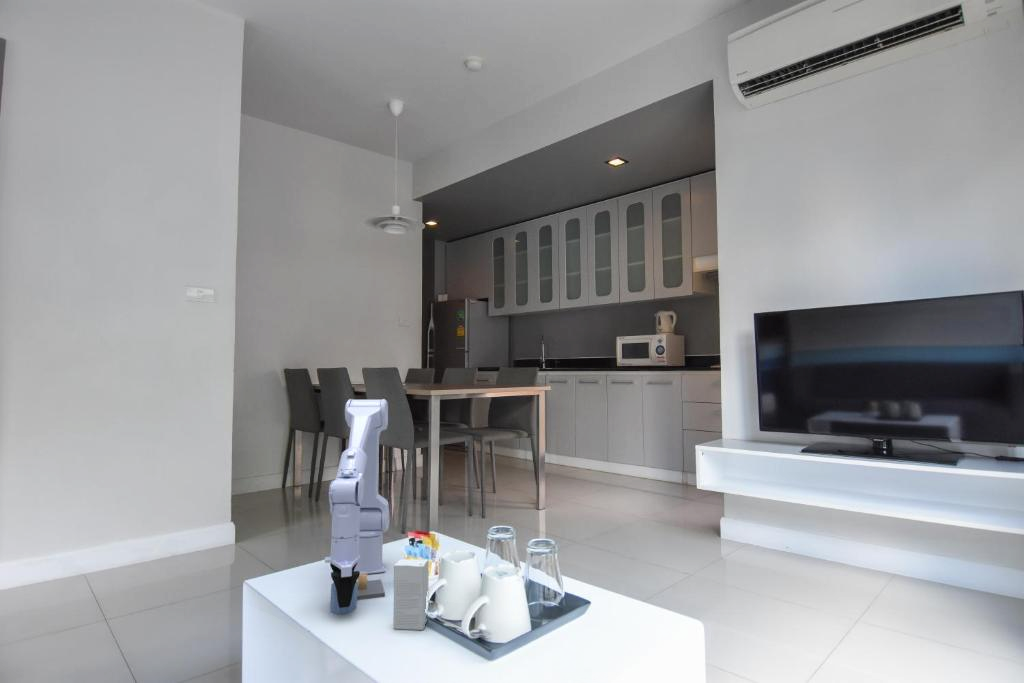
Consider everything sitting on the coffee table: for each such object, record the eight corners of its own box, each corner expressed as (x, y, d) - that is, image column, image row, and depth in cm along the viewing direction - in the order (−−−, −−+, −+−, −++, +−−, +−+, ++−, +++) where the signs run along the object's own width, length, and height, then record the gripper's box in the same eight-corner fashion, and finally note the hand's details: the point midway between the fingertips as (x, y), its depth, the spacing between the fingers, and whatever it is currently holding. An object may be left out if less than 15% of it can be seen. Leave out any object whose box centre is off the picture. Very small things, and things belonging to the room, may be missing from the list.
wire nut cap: (330, 605, 116) (330, 581, 116) (355, 602, 118) (356, 578, 118) (330, 615, 111) (331, 589, 111) (357, 611, 113) (357, 586, 113)
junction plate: (340, 587, 126) (341, 570, 127) (380, 582, 130) (380, 566, 130) (342, 601, 118) (343, 583, 118) (384, 596, 121) (385, 578, 121)
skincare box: (428, 621, 108) (429, 559, 109) (423, 630, 104) (424, 566, 105) (398, 620, 109) (400, 558, 110) (392, 629, 104) (393, 565, 105)
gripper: (325, 528, 121) (323, 591, 120) (326, 546, 108) (324, 617, 106) (357, 526, 123) (356, 588, 122) (363, 542, 110) (361, 612, 109)
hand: (343, 601), depth 114 cm, fingers closed on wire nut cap, 5 cm apart
